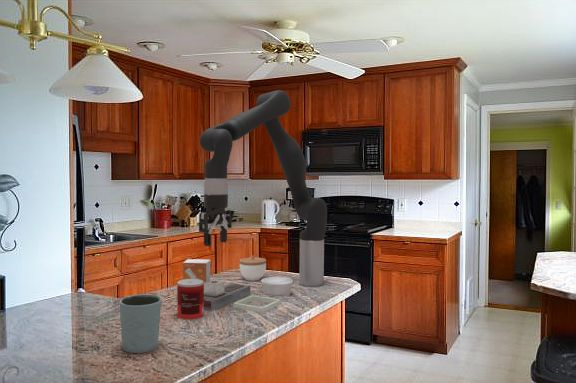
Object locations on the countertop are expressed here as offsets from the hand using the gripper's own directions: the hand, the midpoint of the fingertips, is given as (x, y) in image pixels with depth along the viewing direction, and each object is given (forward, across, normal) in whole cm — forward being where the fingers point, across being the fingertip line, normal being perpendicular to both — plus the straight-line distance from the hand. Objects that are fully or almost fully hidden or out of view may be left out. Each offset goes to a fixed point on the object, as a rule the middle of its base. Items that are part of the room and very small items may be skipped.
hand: (215, 243), depth 156 cm
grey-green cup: (+21, +37, +4) cm, 42 cm away
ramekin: (+21, -23, +10) cm, 32 cm away
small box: (+21, -6, -12) cm, 24 cm away
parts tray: (+20, -5, +12) cm, 24 cm away
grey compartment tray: (+20, -4, -1) cm, 21 cm away
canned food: (+21, +13, 0) cm, 24 cm away
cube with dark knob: (+19, 0, -1) cm, 19 cm away
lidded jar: (+20, -40, -10) cm, 46 cm away
